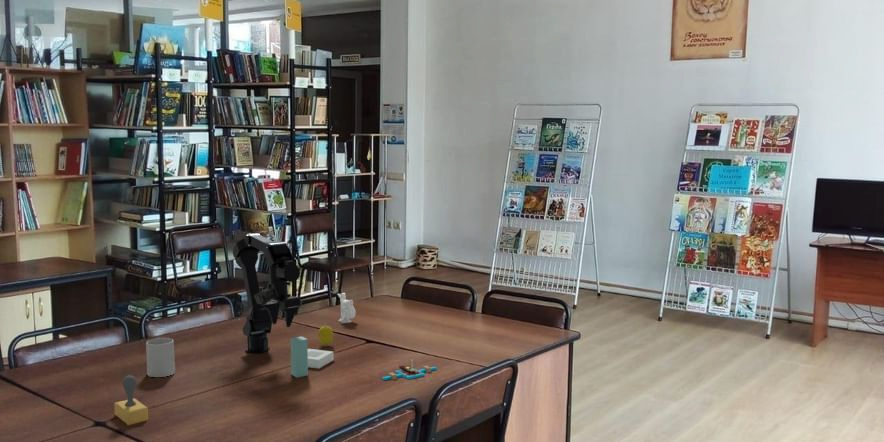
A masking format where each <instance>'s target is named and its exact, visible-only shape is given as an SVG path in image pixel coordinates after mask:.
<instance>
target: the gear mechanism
mask: <svg viewBox="0 0 884 442" xmlns="http://www.w3.org/2000/svg"><path fill="white" fill-rule="evenodd" d="M413 365H414V361H413V360H411V367H410V366H405V365H399V366H398V368H399V370H398V369H397V370H395V373H394V372H388V376H387V375H386V376H381V378H382V381H387V380H397V378H401V377H402V378H404V379H406V380H412V379H417V378H420V377H421V378H422V377H425V372H426V373H431V372H432V371H435V370H437V369H438V368H437V367H436V366H431V367H430V366H428V365H423V366H422V369H421V368H420V369H417V368H415V367H413Z"/></svg>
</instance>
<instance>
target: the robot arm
mask: <svg viewBox="0 0 884 442" xmlns="http://www.w3.org/2000/svg"><path fill="white" fill-rule="evenodd" d="M260 252H262V253H263V256H264V258H265V259H267V261H268V262H267V263H266V266H268V271H269V272H268V273H269V282H268V283H267V284H266V288H264V289H262V290H260V284H259V279H258V273H257V267H256V265H257V262H258V260H259V253H260ZM232 256H233V257H234V260H235V263H236V264H237V266H238V267H239V268H240V269H241V272H242V276H243V282H244V287H245V294H246V299H247V303H248V311H247V314H246V316H245V318H246V322H245V323H244V325H243V327H242V333H243V335H244V336H246V338H247V348H246V349H245V350H244V352H245V353H251V354H252V353H253V354H262V353H265V352H267V351H268V350H270V346H269V338H268V334H271V332H272V326H273V325H276V324H277V321H278V316H279V311H280V310H281V311H282V312H283V314H284V321H285V325H286V327H287V328H290V327H291V325H292V322H293V320H294V318H295V315H296V313H297V311H298V309H300V306H302V298H300V297H299V296H293V295H292V296H291V294H290V293H289V288H288V287H289V286H290V285H291V283H293V282H296V281H297V280H298V279H299V278H300V275H301V270H300V268H299V267H298V266H297V265H296V264H295V260H294V255H293V253H292V251H291V250H290V247H289V245H288V244H287V242H286V241H275V240H274V241H273V240H271V239H269V238H268V237H265V236H262V234H261V233H258V232H255V233H247V234H245V235H244V237H243V238H241V239H240V240H239V241H237V242H236V243H235V245H234V246H233V249H232Z"/></svg>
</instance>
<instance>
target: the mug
mask: <svg viewBox="0 0 884 442" xmlns="http://www.w3.org/2000/svg"><path fill="white" fill-rule="evenodd" d="M174 343H175V342H174V339H173V338H169V337H157V338H152V339H149V340H146V343H145V349H146V351H145V353H146V375H148V376H151V377H164V376H169V377H171V376H170V375H172V376H173V374H174V375H175V374H176V373H175V372H176V363H175V362H176V360H175V344H174ZM148 376H147V377H148Z"/></svg>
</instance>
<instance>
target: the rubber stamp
mask: <svg viewBox="0 0 884 442" xmlns="http://www.w3.org/2000/svg"><path fill="white" fill-rule="evenodd" d="M122 386H123V390H124V392H125V394H126V396H127V399H126V400H122V401H120V400H119V401H116V402H114V404H113V405H114V415H115V416H116V417H118V418H119V420H121V421H122V422H124V423H125V424H126V425H127V426H130V425H133V424H137V423H141V422H145V421H149V409H148V407H147V406H146V405H144V404H143V403H141V402H140V400H138V399H136V398H133V397H134V393H135V391H136V388H137V379H136V377H135V376H134V375H130V374H128V375H126V376H125V377H123V380H122Z"/></svg>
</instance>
